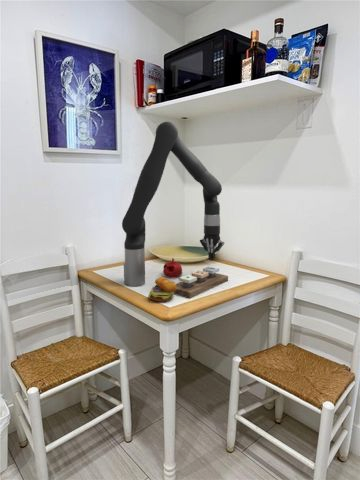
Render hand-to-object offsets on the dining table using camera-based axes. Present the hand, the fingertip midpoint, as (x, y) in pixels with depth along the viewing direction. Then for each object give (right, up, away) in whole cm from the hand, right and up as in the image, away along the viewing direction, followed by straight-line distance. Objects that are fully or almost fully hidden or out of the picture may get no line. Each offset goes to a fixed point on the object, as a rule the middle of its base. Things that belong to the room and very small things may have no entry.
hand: (211, 260), depth 158 cm
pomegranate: (-19, -9, +11) cm, 24 cm away
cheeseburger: (-22, -15, -19) cm, 33 cm away
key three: (0, -8, +2) cm, 8 cm away
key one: (-12, -11, -12) cm, 20 cm away
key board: (-6, -12, -5) cm, 14 cm away
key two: (-6, -9, -5) cm, 12 cm away
